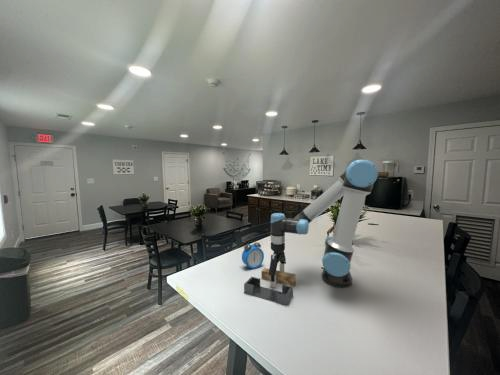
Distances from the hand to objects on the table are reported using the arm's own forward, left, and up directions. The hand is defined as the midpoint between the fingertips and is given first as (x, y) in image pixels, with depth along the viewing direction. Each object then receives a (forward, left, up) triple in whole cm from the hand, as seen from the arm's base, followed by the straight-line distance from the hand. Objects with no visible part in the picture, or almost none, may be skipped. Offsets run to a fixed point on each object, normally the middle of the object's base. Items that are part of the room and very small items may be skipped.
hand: (277, 280), depth 109 cm
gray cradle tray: (0, +14, 0) cm, 14 cm away
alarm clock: (+20, -9, 0) cm, 22 cm away
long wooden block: (0, 0, 0) cm, 0 cm away
